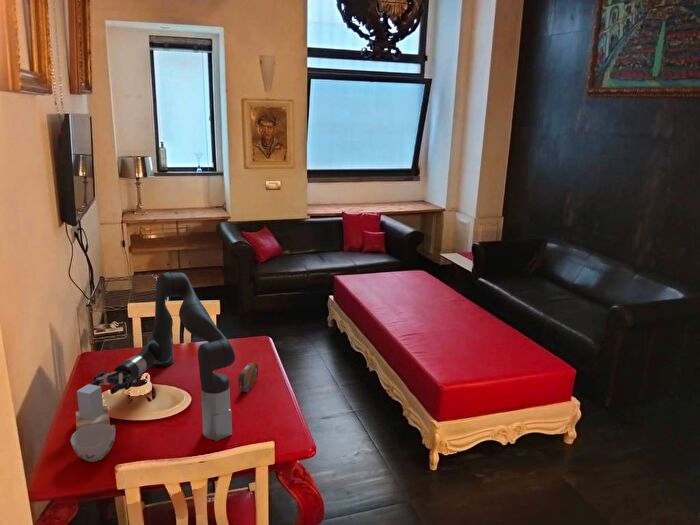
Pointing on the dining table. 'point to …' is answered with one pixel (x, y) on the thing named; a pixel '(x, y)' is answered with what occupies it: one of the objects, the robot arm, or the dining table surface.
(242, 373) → the tin
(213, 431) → the robot arm
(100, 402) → the pale blue tall cuboid
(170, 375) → the dining table surface
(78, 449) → the teacup
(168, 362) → the supplement container
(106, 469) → the dining table surface
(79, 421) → the birch block
